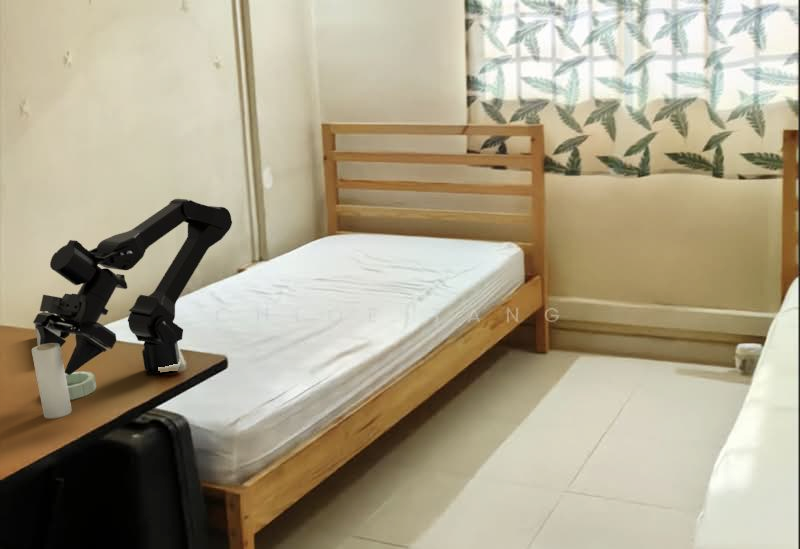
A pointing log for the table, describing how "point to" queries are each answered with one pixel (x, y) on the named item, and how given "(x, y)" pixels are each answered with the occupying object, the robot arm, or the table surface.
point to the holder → (80, 384)
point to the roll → (51, 380)
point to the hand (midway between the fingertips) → (52, 370)
